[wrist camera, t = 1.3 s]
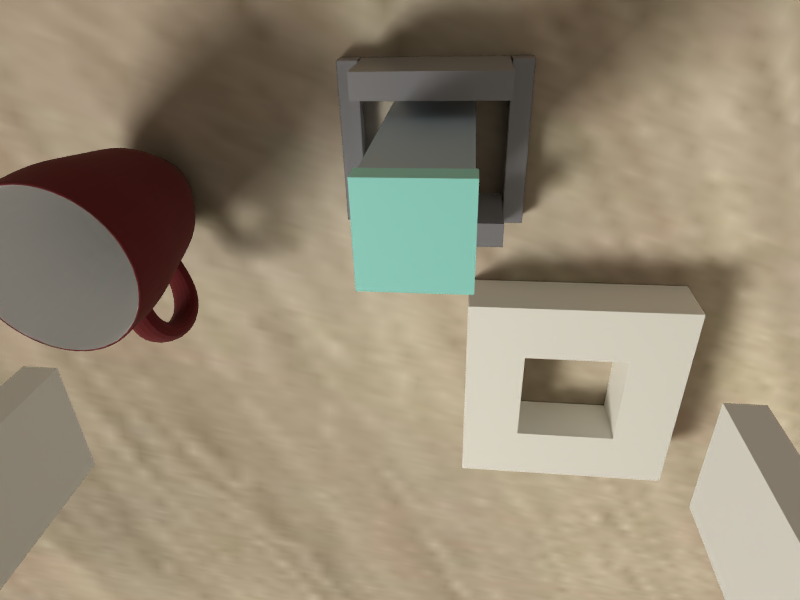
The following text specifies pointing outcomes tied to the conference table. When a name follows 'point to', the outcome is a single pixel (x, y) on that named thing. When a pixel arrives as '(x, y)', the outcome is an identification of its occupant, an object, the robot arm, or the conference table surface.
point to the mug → (96, 249)
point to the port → (587, 341)
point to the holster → (446, 83)
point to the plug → (417, 201)
